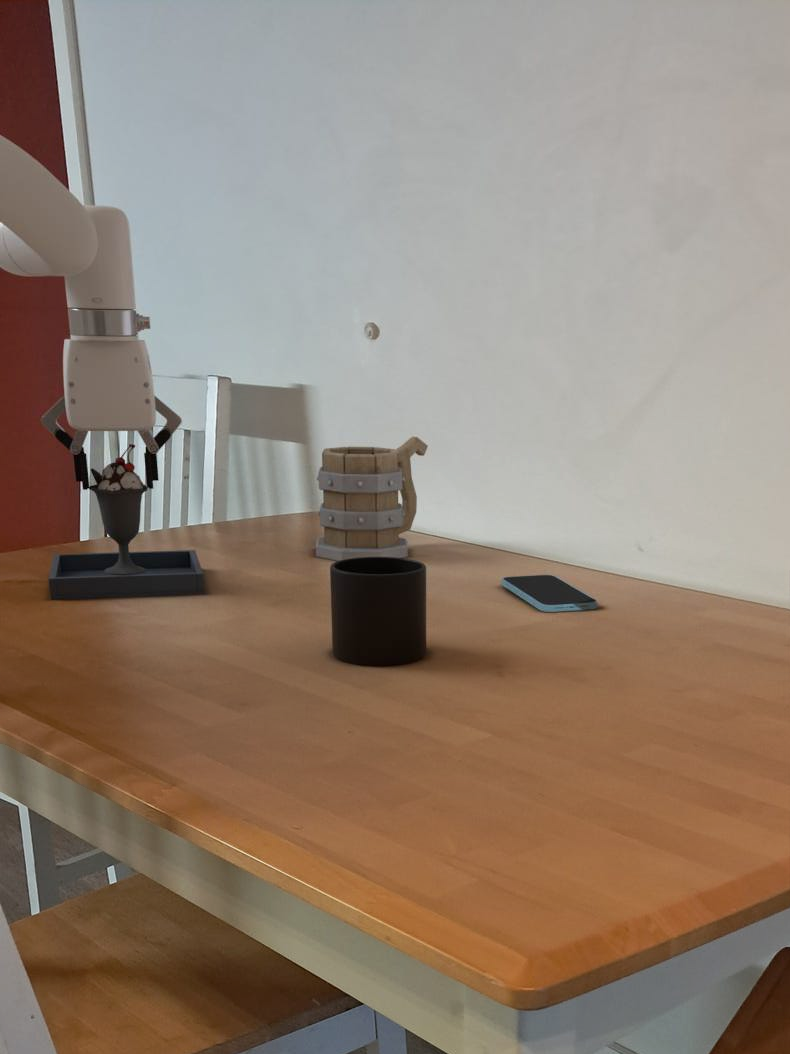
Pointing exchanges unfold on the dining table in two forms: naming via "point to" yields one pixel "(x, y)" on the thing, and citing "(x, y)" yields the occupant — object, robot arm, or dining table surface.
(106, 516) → the sundae
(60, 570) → the tray
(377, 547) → the tankard
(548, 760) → the dining table surface
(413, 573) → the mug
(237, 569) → the dining table surface
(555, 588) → the smartphone
